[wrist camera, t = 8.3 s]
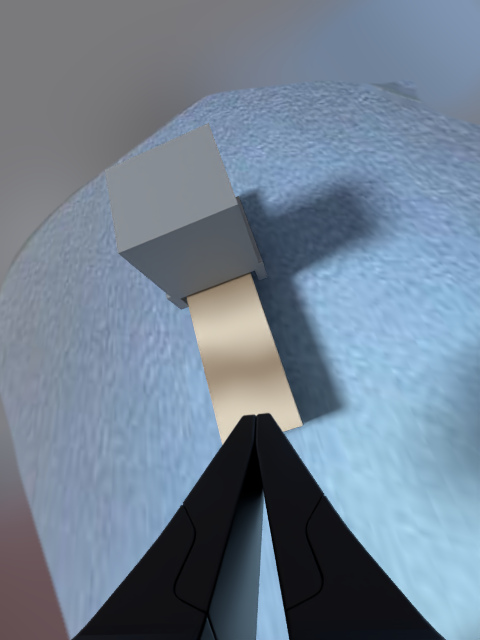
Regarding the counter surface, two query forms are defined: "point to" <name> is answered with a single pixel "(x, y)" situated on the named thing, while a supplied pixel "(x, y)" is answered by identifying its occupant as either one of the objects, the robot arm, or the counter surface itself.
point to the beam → (240, 356)
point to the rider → (181, 217)
